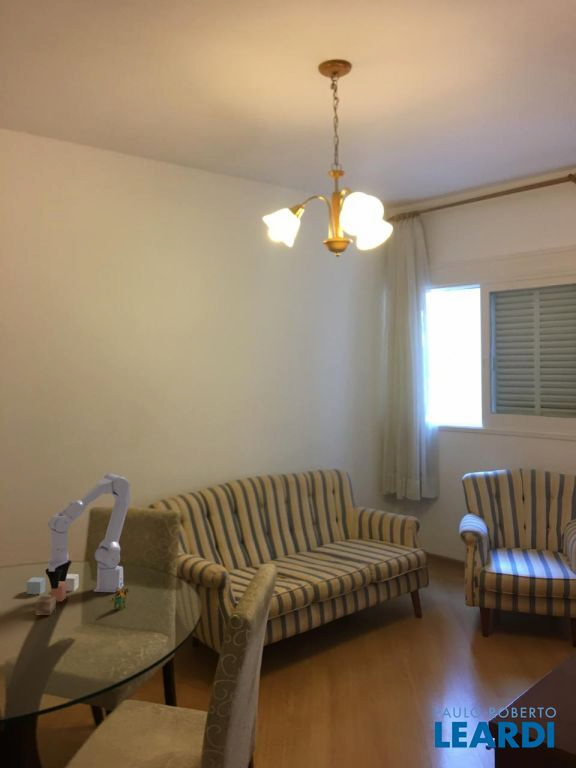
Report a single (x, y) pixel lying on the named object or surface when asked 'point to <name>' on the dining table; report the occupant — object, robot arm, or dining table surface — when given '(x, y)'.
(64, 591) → the brick-red block
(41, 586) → the blue-grey block
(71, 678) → the dining table surface
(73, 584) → the pale grey block
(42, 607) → the walnut block
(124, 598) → the figurine
